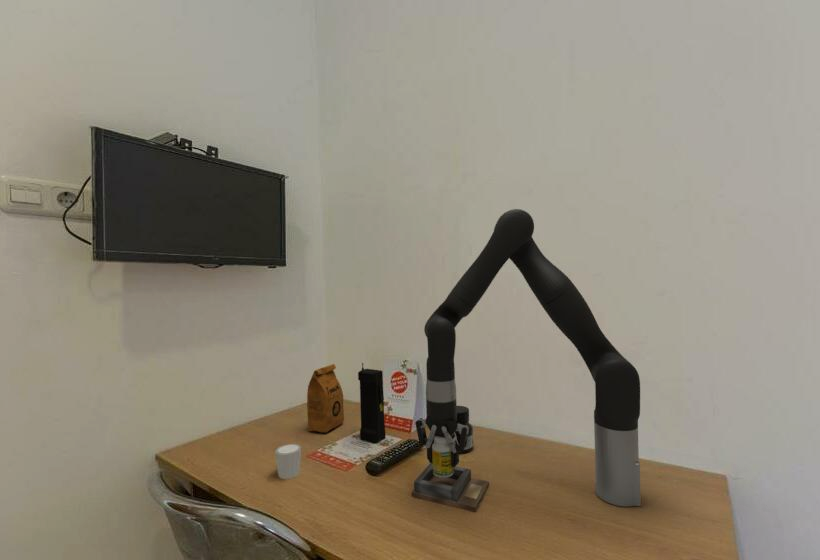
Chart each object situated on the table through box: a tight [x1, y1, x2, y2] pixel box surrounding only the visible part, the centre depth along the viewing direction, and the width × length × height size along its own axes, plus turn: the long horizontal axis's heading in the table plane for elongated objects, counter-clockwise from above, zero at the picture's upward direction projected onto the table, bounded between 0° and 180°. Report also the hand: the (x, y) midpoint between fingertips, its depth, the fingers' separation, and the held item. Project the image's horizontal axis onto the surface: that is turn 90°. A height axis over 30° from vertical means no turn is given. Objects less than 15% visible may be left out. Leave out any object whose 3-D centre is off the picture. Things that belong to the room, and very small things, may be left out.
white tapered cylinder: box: [274, 443, 302, 480], centre depth 108 cm, size 7×7×7 cm
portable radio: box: [357, 362, 387, 444], centre depth 130 cm, size 8×6×25 cm
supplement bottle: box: [432, 436, 454, 478], centre depth 98 cm, size 5×5×10 cm
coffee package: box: [306, 363, 345, 433], centre depth 141 cm, size 10×12×22 cm
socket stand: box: [411, 463, 490, 512], centre depth 97 cm, size 16×12×4 cm
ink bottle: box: [455, 405, 474, 454], centre depth 122 cm, size 10×9×12 cm
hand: (442, 463), depth 98 cm, fingers closed on supplement bottle, 5 cm apart
